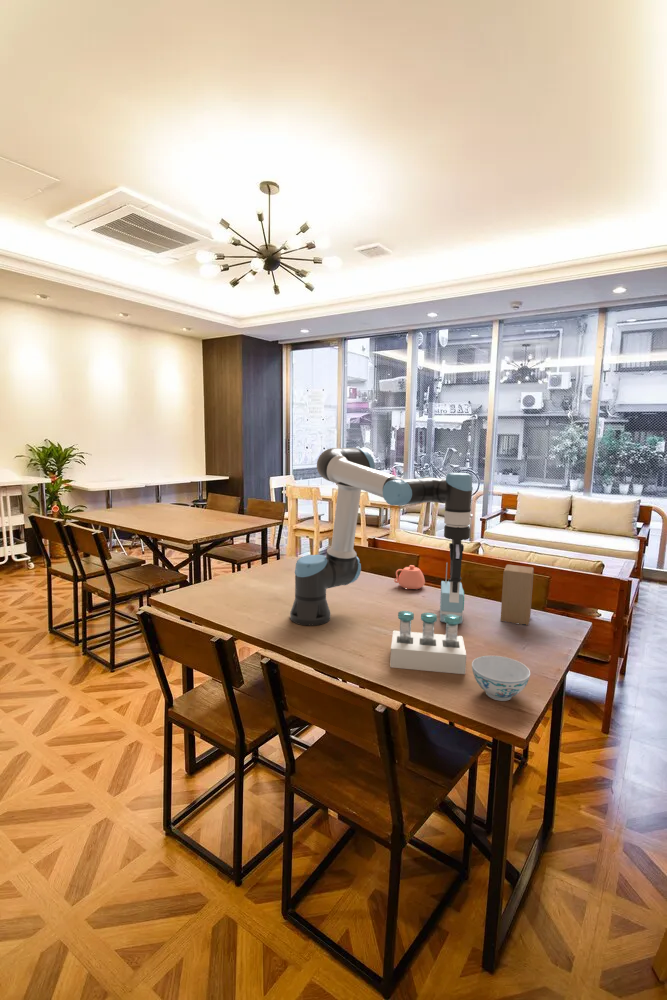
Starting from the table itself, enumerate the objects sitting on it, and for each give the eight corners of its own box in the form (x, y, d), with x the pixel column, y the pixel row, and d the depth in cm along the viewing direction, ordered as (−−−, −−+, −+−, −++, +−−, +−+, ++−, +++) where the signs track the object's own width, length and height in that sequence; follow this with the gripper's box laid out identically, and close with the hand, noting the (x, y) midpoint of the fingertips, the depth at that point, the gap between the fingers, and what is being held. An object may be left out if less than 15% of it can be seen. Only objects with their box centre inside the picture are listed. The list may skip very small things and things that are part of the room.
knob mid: (419, 647, 154) (421, 617, 153) (419, 640, 158) (421, 612, 157) (435, 648, 153) (437, 618, 152) (435, 642, 158) (436, 613, 156)
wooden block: (530, 617, 195) (534, 567, 193) (528, 626, 186) (532, 573, 184) (503, 613, 199) (506, 564, 197) (500, 621, 190) (503, 570, 188)
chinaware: (467, 702, 132) (469, 674, 131) (473, 677, 146) (474, 651, 145) (528, 714, 127) (530, 685, 126) (528, 687, 141) (530, 661, 140)
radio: (465, 626, 185) (467, 573, 183) (440, 623, 187) (442, 571, 184) (462, 611, 201) (465, 562, 198) (439, 609, 203) (442, 561, 200)
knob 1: (396, 645, 155) (397, 615, 154) (397, 638, 160) (398, 610, 158) (412, 646, 154) (413, 617, 153) (412, 640, 159) (413, 611, 158)
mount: (390, 667, 151) (390, 648, 151) (392, 647, 165) (393, 630, 164) (465, 674, 148) (466, 655, 147) (461, 653, 161) (462, 636, 161)
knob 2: (443, 649, 153) (444, 619, 151) (442, 642, 157) (443, 613, 156) (459, 650, 152) (461, 620, 151) (458, 644, 157) (459, 615, 155)
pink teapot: (426, 591, 225) (427, 569, 223) (395, 591, 225) (396, 568, 224) (422, 583, 237) (423, 562, 236) (392, 582, 237) (393, 561, 236)
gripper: (472, 529, 142) (468, 609, 145) (468, 521, 155) (464, 595, 158) (445, 528, 144) (442, 608, 147) (443, 520, 156) (440, 594, 159)
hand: (453, 601), depth 152 cm, fingers closed
